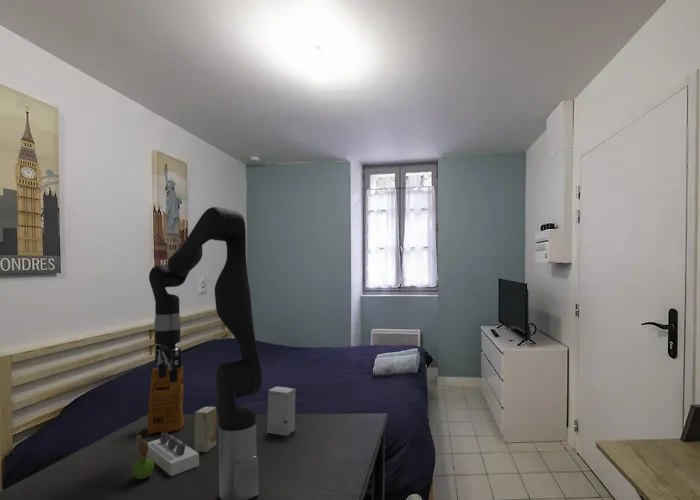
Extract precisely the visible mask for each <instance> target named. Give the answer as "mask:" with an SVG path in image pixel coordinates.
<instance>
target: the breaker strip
mask: <svg viewBox="0 0 700 500" xmlns="http://www.w3.org/2000/svg"><path fill="white" fill-rule="evenodd" d="M170 436H171V437H173V438H175V437H174V436H172V435H170ZM144 440H146V441H147V443H148V453H147V456H148V457H149V458H151V459H152V460H153V462H154V464H155V465H157V466H158V467H160V469H162V471H164V472H166V473H167V474H168V475H169V476H170V477H173V476H176V475H179V474H181V473H184V472H187V471H189V470H191V469H194V468H197V467H200V453H199V452H197V451H195V449H193V448H191V447H190V446H188V445H186V444H185V443H183V442H182V441H181V440H179V439H177V440H178V441H179V442H181V443H183V444H185V451H184V454H177V453H176V448H177V446H176V447H175V448H169V447H167V446H168V442H166V443H162V442H160V438H158V439H155V440H151V439H150V438H149V437H146V438H145V439H144ZM168 441H169V440H168Z"/></svg>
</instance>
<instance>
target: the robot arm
mask: <svg viewBox="0 0 700 500" xmlns="http://www.w3.org/2000/svg"><path fill="white" fill-rule="evenodd" d="M246 231H247V230H246V222H245V218H244V216H243V214H242V213H241V212H240V211H238V210H234V209H229V208H223V207H218V206H211V207H209V208H207V209H206V210H205V211H204V212H203V214H201V216H200V217H199V218H198V221H197V222H196V223H195V225H194V227H193V228H192V230H191V232H190V233H189V235H188V237H187V238H186V240H185V241H184V243H183V244H182V245H181V246H180V247H179V248H178V249H177V250H176V251H175V252H174V253H173V254H172V255H171V256H170V257H169V259H168V261H167V265H165V264H164V265H162V264H161V265H160V264H159V265H155V266H153V267H152V268H151V269H150V271H149V273H148V274H149V275H148V281H149V284H150V288H151V289H152V290H151V291H152V295H153V297H154V302H155V304H154V305H155V308H154V309H155V310H154V311H155V312H154V313H155V315H154V344H155V347H154V348H155V349H154V362H155V363H154V364H156V365H157V367H158V368H157V369H158V377H159V378H164V377H166V369H167V366H168V369H169V382H171V383H173V382H177V369H179V368H181V366H182V351H181V348H180V347H179V348H177V347H176V344H179V343H180V342H181V317H180V316H181V315H180V297H179V295H177V294H171V293H168V291H167V289H166V288H176V287H179V286H182V285H183V284H184V283H185V282H186V279H187V277H188V275H189V273H190V272H191V271H192V270H193V269H194V268H195V267H196V266H197V265H198V264H199V263H200V262H201V260H202V258H203V257H202V256H203V245H204V244H206V243H208V241H211V240H213V241H219V242H225V244H226V259H225V264H224V266H223V268H222V270H221V271H220V274H219V275H218V277H217V280H216V282H215V285H214V299H215V300H214V301H215V310H216V313H217V316H218V319H220V321H221V322H222V324H223V325H224V326H225V327H226V328H227V329H228V331H229V332H230V333H231V334H232V336H233V338H234V339H235V340H236V342H237V344H238V348H239V352H240V354H241V359H239V360H232V361H226V362H223V363H220V364H219V365H218V366H217V368H216V374H215V384H216V386H215V387H216V400H217V406H216V408H217V417H218V475H219V476H218V477H219V479H218V480H219V481H218V482H219V483H218V484H219V485H218V486H219V489H218V490H219V491H218V492H219V494H218V495H219V499H220V500H251V499H252V498H255V497H257V496H259V491H260V490H259V488H260V487H259V486H260V485H259V456H258V455H257V412H256V411H255V410H254V409H253V408H250V407H247V406H239V405H237V404H236V399H239V398H244V397H247V396H251V395H252V396H253V395H255V394H258V393H259V392H260V391H261V389H262V386H263V372H262V366H261V360H260V355H259V350H258V345H257V340H256V335H255V329H254V328H255V326H254V319H253V309H252V298H251V297H252V296H251V289H250V284H249V275H248V264H247V245H246V244H247V243H246V242H247V241H246V240H247V235H246V233H247V232H246Z"/></svg>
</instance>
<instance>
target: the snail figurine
mask: <svg viewBox="0 0 700 500" xmlns="http://www.w3.org/2000/svg"><path fill="white" fill-rule="evenodd" d="M139 433H141V430H140V429H139V430H138V431H135V434H137V435H136V437H135V440H136V449H137V454H138V456H139V458H138V459H137V460H136V461H135V462H134V463H133V465H132V469H131V472H132V476H133V477H134V478H136V479H137V480H145V479H146V478H149V477H150V476H151V475H152V473H153V472H154V469H155V462H153V460H152V459H151V458H149V457H148V456H147V453H148V443H147V441H146V440H145V439H142V435H140V434H139Z"/></svg>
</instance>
